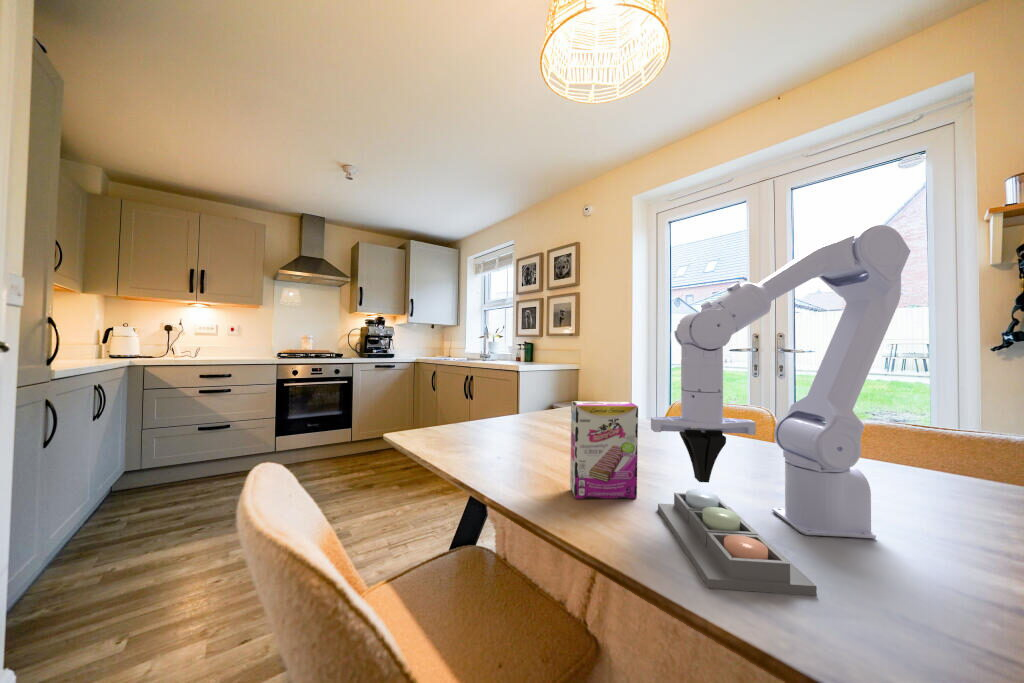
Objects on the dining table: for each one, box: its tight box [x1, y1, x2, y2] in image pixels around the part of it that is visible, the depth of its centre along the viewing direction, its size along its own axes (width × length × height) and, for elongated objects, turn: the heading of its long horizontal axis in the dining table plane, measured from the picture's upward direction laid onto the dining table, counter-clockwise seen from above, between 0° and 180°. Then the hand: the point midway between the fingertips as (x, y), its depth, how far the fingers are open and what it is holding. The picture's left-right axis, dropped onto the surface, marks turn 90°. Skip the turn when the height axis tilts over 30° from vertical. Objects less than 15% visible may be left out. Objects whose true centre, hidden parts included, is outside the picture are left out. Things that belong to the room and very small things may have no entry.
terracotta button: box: [724, 535, 768, 560], centre depth 44 cm, size 4×4×2 cm
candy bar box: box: [569, 400, 639, 500], centre depth 68 cm, size 11×5×16 cm, turn 92°
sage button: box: [703, 507, 741, 531], centre depth 51 cm, size 4×4×2 cm
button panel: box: [657, 492, 818, 596], centre depth 51 cm, size 11×20×3 cm, turn 174°
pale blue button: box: [685, 489, 719, 509], centre depth 57 cm, size 4×4×2 cm
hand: (701, 480), depth 57 cm, fingers closed
